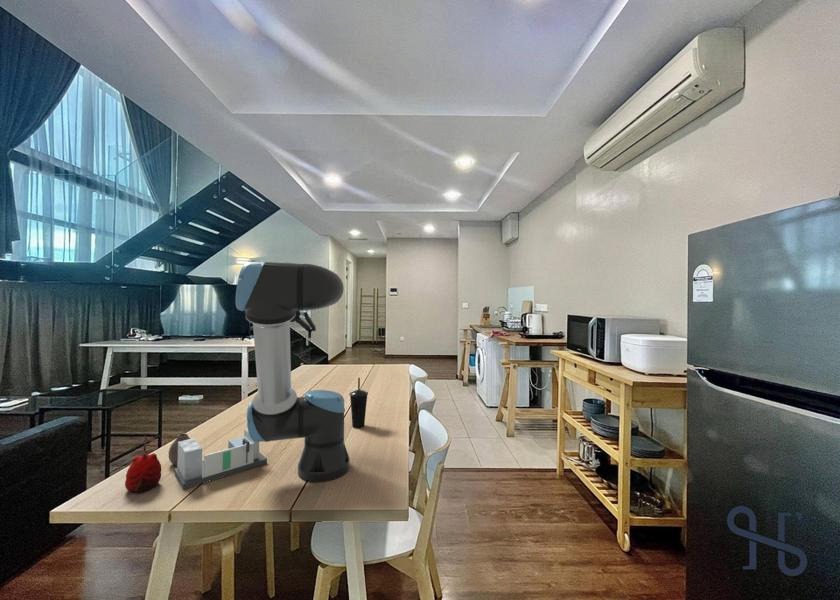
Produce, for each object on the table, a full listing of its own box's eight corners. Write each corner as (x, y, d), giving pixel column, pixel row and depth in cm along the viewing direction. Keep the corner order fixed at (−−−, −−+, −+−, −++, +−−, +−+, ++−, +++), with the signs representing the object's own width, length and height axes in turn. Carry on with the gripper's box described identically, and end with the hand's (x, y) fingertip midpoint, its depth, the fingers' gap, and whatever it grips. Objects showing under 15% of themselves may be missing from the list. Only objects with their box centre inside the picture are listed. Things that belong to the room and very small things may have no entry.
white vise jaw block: (201, 476, 95) (202, 448, 95) (184, 482, 92) (185, 452, 92) (193, 464, 102) (194, 438, 102) (177, 469, 99) (177, 441, 99)
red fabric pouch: (161, 478, 97) (162, 425, 97) (160, 489, 91) (162, 433, 91) (126, 486, 92) (127, 431, 92) (123, 498, 86) (124, 439, 87)
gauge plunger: (262, 460, 104) (262, 437, 104) (238, 467, 100) (239, 443, 100) (249, 449, 112) (249, 428, 113) (227, 455, 108) (227, 433, 108)
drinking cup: (370, 427, 139) (371, 378, 140) (353, 430, 135) (354, 380, 135) (363, 421, 146) (363, 375, 146) (346, 425, 141) (346, 377, 142)
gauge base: (267, 463, 106) (267, 439, 106) (183, 489, 91) (183, 461, 91) (253, 451, 115) (253, 429, 115) (174, 473, 99) (175, 448, 99)
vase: (190, 466, 104) (191, 437, 104) (164, 469, 102) (164, 440, 102) (198, 456, 111) (198, 429, 111) (173, 459, 109) (174, 432, 109)
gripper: (321, 296, 139) (320, 337, 150) (254, 296, 131) (258, 340, 141) (322, 305, 133) (321, 348, 143) (252, 306, 125) (256, 351, 135)
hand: (290, 344), depth 142 cm, fingers open, 13 cm apart
